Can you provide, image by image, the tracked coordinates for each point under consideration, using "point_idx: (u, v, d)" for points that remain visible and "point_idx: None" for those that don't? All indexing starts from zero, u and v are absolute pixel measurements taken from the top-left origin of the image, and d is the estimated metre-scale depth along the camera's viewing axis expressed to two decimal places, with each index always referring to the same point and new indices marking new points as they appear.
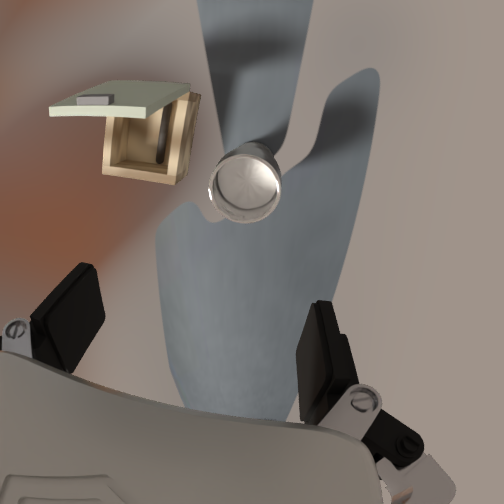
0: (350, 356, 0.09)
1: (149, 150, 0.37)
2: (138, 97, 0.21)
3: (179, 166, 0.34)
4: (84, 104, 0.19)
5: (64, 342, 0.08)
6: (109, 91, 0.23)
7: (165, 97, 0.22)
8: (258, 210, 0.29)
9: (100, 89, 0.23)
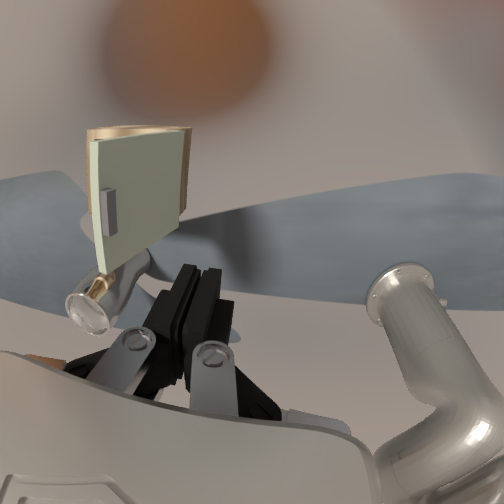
0: (228, 320, 0.10)
1: None
2: (127, 236, 0.23)
3: None
4: (100, 203, 0.19)
5: (181, 347, 0.09)
6: (143, 179, 0.23)
7: (135, 254, 0.25)
8: (84, 306, 0.32)
9: (151, 156, 0.23)
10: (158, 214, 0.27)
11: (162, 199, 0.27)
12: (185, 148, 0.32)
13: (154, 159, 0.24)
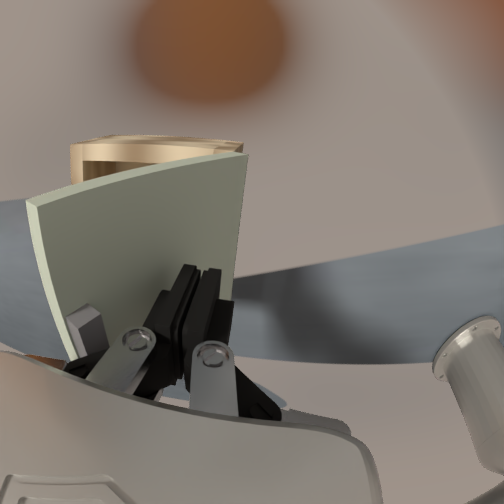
0: (228, 320, 0.10)
1: None
2: None
3: None
4: (72, 339, 0.08)
5: (181, 347, 0.09)
6: (168, 260, 0.12)
7: None
8: None
9: (185, 211, 0.12)
10: None
11: None
12: None
13: (191, 216, 0.12)
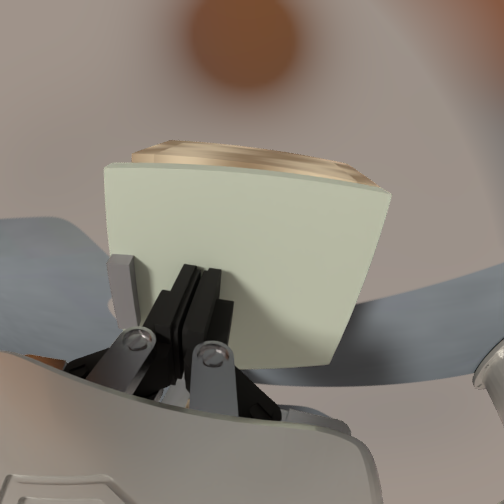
0: (228, 320, 0.10)
1: None
2: None
3: None
4: None
5: (181, 347, 0.09)
6: (235, 266, 0.12)
7: None
8: None
9: (267, 226, 0.11)
10: (275, 335, 0.14)
11: (293, 315, 0.14)
12: None
13: (277, 235, 0.12)
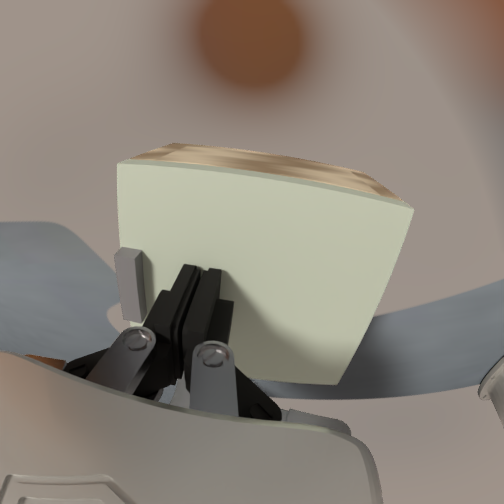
0: (228, 320, 0.10)
1: None
2: None
3: None
4: None
5: (181, 347, 0.09)
6: (241, 271, 0.12)
7: None
8: None
9: (275, 233, 0.11)
10: (280, 348, 0.14)
11: (300, 329, 0.13)
12: None
13: (285, 243, 0.11)
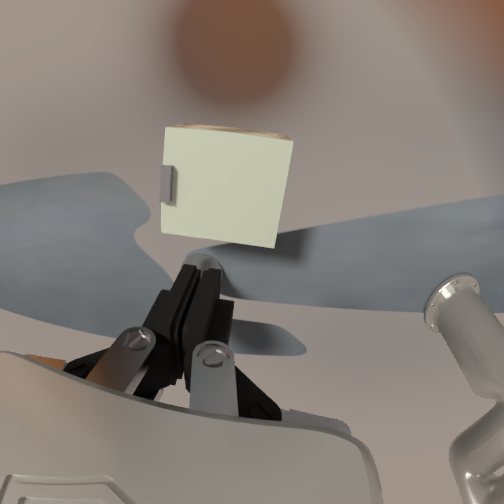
0: (228, 320, 0.10)
1: None
2: (190, 216, 0.28)
3: None
4: None
5: (181, 347, 0.09)
6: (217, 172, 0.26)
7: (200, 237, 0.29)
8: None
9: (231, 154, 0.25)
10: (238, 217, 0.28)
11: (246, 204, 0.27)
12: None
13: (236, 159, 0.25)
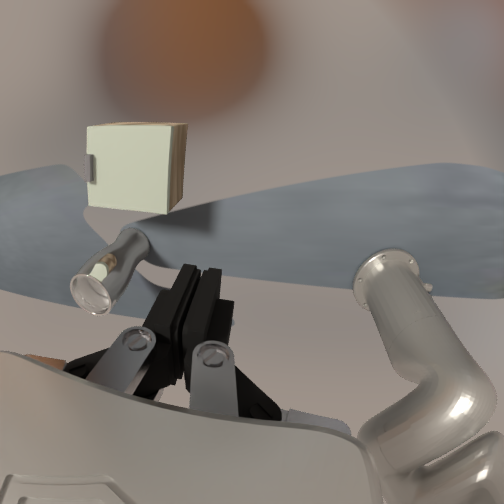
0: (228, 320, 0.10)
1: None
2: (106, 191, 0.33)
3: None
4: None
5: (181, 347, 0.09)
6: (121, 156, 0.31)
7: (114, 208, 0.34)
8: (87, 288, 0.35)
9: (128, 141, 0.30)
10: (137, 190, 0.33)
11: (142, 179, 0.32)
12: (181, 142, 0.35)
13: (132, 144, 0.30)
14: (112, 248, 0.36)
